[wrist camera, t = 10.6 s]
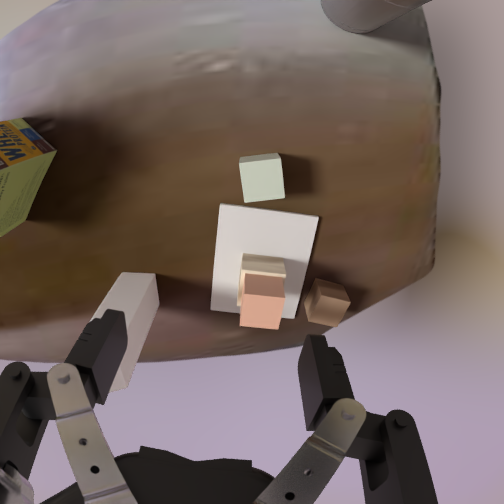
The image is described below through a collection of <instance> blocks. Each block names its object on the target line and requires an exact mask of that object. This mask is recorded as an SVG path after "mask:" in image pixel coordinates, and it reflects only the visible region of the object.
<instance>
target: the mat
mask: <svg viewBox="0 0 504 504" xmlns="http://www.w3.org/2000/svg"><path fill="white" fill-rule="evenodd" d="M318 219H319V217H318V216H314V215H308V214H301V213H294V212H287V211H279V210H272V209H265V208H257V207H249V206H241V205H233V204H225V203H220V210H219V220H218V230H217V240H216V251H215V261H214V272H213V284H212V296H211V309H210V310H216V311H224V312H233V313H240V310H241V306H237V295H238V283H239V276H240V269H241V261H242V254H243V253H247V254H255V255H264V256H272V257H280V258H283V261H284V266H285V271H286V278H285V283H284V293H285V302H284V306H283V311H282V315H281V318H293V319H294V317H295V313H296V310H297V306H298V302H299V298H300V294H301V290H302V286H303V282H304V278H305V274H306V270H307V266H308V262H309V258H310V254H311V249H312V245H313V241H314V236H315V232H316V228H317V223H318Z"/></svg>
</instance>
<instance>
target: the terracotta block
mask: <svg viewBox="0 0 504 504" xmlns="http://www.w3.org/2000/svg"><path fill="white" fill-rule="evenodd" d="M284 302H285V293H284V287H283V281H282V277H275V276H266V275H257V274H248V273H245V277H244V284H243V291H242V298H241V310H240V326H247V327H257V328H268V329H278V328H279V324H280V319H281V315H282V311H283V306H284Z"/></svg>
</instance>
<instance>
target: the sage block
mask: <svg viewBox="0 0 504 504" xmlns="http://www.w3.org/2000/svg"><path fill="white" fill-rule="evenodd" d="M239 166H240V173H241V181H242V188H243V195H244V202H245V203H246V202H254V201H263V200H271V199H280V198H285V194H284V184H283V174H282V164H281V158H280V156H279V155H278V153H272V154H263V155H255V156H246V157H240V161H239Z"/></svg>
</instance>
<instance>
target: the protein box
mask: <svg viewBox="0 0 504 504" xmlns="http://www.w3.org/2000/svg"><path fill="white" fill-rule="evenodd" d="M56 152H57V149H55V148H54V147H53V146H52V145H51V144H50V143H48V142H47V141H46V140H45V139H44V138H43V137H42V136H41V135H40V134H39V133H37V132H36V131H35V130H34V129H33V128H32V127H31V126H30V125H29V124H27V123H26V122H25V121H24V120H23V119H22V118H18V119H12V120H8V121H2V122H0V237H2V236H3V235H5V234H6V233H8V232H9V231H10V230H12V229H13V228H15V227H16V226H18V225H19V224H21V223H22V222H24V221H25V220H26V218H27V216H28V213H29V210H30V208H31V205H32V203H33V201H34V198H35V196H36V194H37V191H38V189H39V187H40V185H41V182H42V180H43V178H44V176H45V174H46V172H47V170H48V168H49V166H50V164H51V162H52V160H53V158H54V156H55V154H56Z"/></svg>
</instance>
